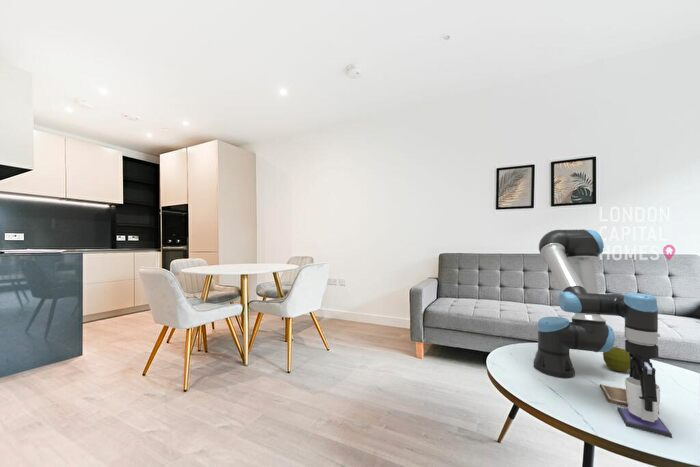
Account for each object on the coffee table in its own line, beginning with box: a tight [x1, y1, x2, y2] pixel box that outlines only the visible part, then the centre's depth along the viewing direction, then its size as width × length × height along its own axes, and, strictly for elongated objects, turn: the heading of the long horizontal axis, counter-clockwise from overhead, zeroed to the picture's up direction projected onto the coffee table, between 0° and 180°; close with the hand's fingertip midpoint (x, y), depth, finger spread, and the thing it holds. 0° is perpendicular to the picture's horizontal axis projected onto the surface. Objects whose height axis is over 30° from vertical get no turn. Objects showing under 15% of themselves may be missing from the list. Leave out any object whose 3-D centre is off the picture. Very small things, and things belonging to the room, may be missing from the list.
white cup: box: [624, 376, 661, 421], centre depth 91 cm, size 8×8×10 cm
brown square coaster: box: [599, 383, 660, 415], centre depth 104 cm, size 13×13×1 cm
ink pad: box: [616, 406, 673, 438], centre depth 91 cm, size 10×10×1 cm
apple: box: [602, 346, 630, 373], centre depth 128 cm, size 10×10×11 cm
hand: (642, 413), depth 91 cm, fingers closed on white cup, 8 cm apart
